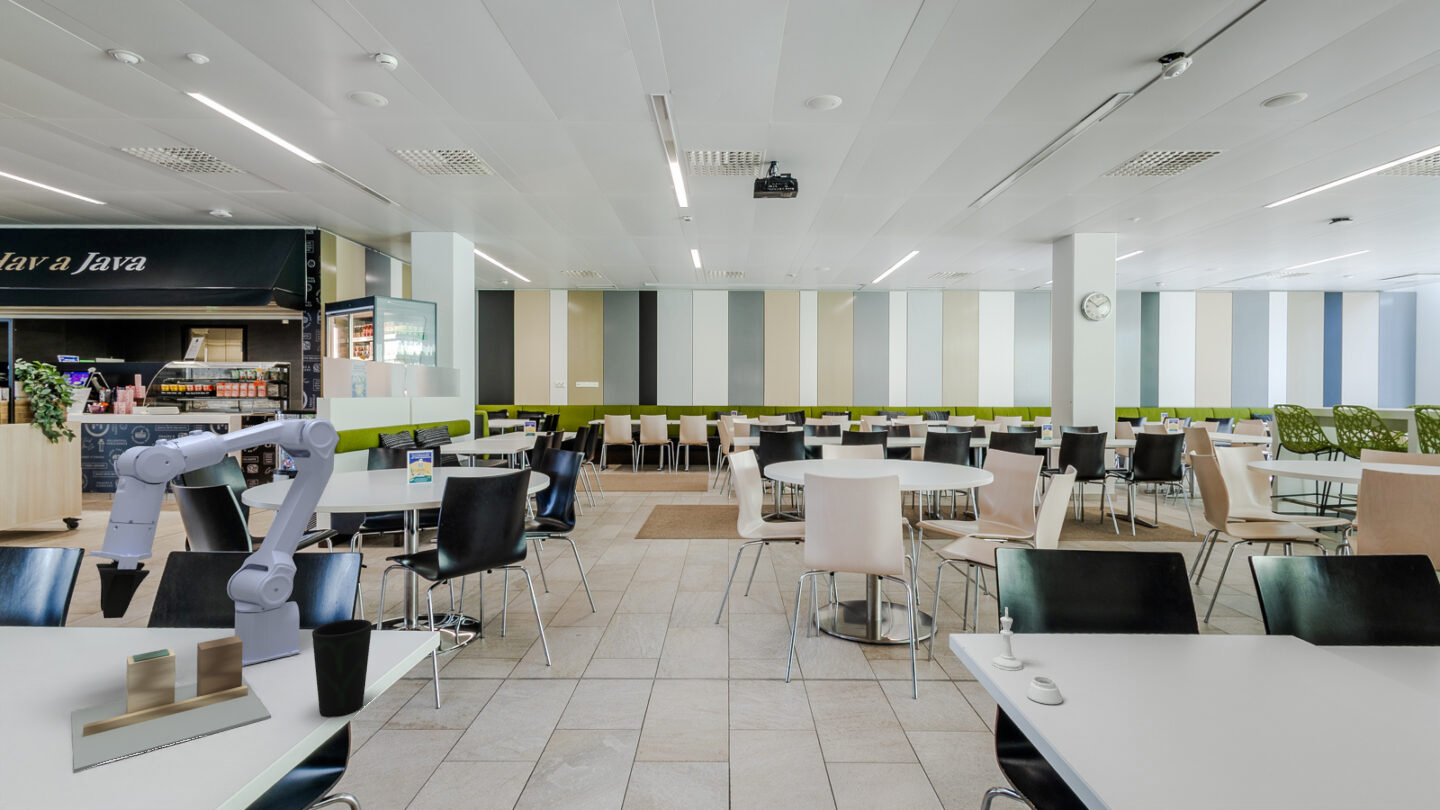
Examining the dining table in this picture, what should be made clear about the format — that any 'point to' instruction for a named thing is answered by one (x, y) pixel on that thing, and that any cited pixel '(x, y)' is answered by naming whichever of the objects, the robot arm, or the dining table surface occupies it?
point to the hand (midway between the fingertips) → (111, 613)
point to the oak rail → (163, 711)
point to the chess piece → (1006, 648)
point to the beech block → (150, 680)
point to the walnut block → (219, 665)
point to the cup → (341, 665)
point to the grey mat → (159, 726)
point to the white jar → (1044, 691)
